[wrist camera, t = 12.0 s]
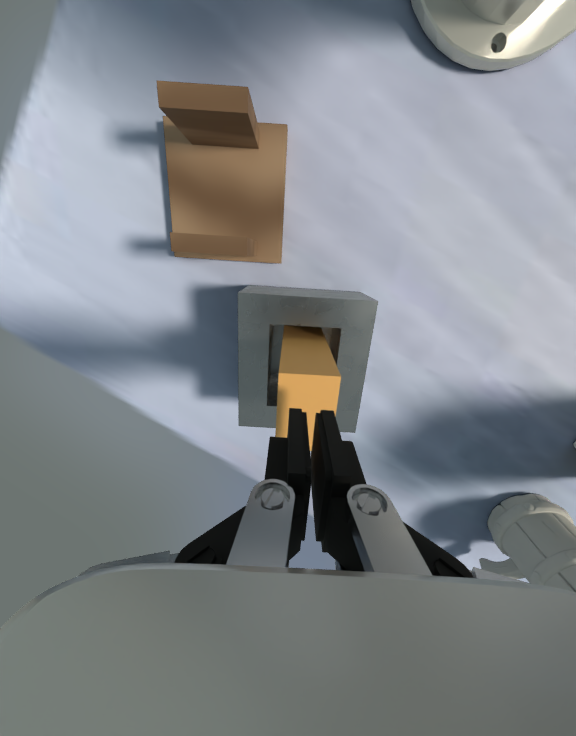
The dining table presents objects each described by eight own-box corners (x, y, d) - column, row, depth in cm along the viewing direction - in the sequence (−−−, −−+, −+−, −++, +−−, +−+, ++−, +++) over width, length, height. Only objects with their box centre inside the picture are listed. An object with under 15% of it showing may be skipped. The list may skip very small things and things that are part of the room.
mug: (571, 509, 31) (728, 652, 20) (488, 568, 35) (581, 717, 24) (524, 479, 29) (665, 615, 18) (443, 544, 33) (519, 690, 22)
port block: (248, 285, 23) (237, 292, 18) (360, 292, 23) (378, 301, 18) (248, 395, 26) (238, 425, 22) (343, 401, 26) (355, 432, 22)
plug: (284, 325, 23) (278, 373, 13) (321, 327, 23) (341, 376, 13) (281, 375, 24) (274, 448, 15) (315, 377, 24) (330, 451, 15)
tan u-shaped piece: (167, 121, 19) (117, 67, 13) (287, 129, 19) (285, 78, 13) (178, 256, 22) (141, 256, 16) (281, 263, 22) (277, 265, 17)
